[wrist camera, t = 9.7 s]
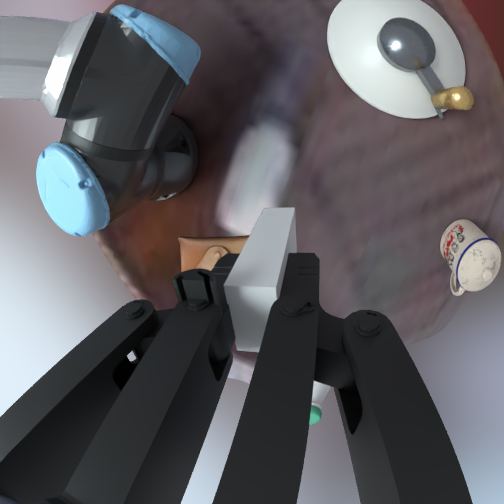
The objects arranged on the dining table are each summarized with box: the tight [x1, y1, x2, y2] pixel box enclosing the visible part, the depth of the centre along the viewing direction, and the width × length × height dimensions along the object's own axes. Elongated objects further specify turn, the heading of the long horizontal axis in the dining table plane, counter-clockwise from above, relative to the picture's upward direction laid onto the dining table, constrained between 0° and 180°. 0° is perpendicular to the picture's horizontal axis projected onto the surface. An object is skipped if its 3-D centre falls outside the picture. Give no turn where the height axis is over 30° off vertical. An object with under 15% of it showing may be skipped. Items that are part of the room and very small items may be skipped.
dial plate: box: [327, 0, 466, 119], centre depth 26 cm, size 22×22×2 cm
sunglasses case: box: [178, 235, 250, 272], centre depth 49 cm, size 18×7×7 cm, turn 101°
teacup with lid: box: [440, 219, 501, 296], centre depth 33 cm, size 12×9×12 cm
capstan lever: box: [377, 17, 474, 110], centre depth 22 cm, size 14×8×8 cm, turn 41°
